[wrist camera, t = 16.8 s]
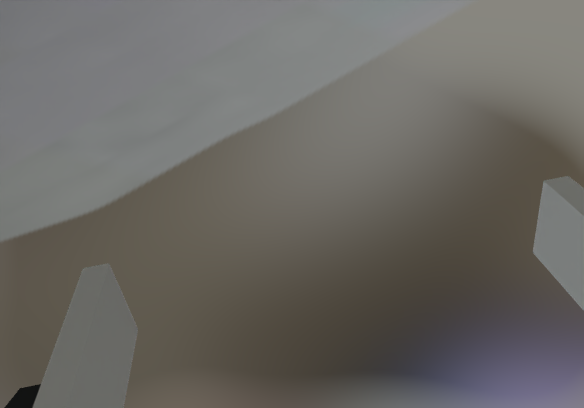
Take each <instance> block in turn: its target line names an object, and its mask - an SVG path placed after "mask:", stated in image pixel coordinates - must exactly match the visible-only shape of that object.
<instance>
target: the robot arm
mask: <svg viewBox="0 0 584 408" xmlns="http://www.w3.org/2000/svg"><path fill="white" fill-rule="evenodd" d="M533 253H534V254H535V255H536V256H537V258H538V259H539V260H540V261H541V262H542V263H543V265H544V266H545V267H546V268H547V269H548V270H549V271H550V273H551V274H552V275H553V276H554V277H555V278H556V279H557V281H558V282H559V283H560V284H561V285H562V286H563V287H564V288H565V290H566V291H567V292H568V293H569V294H570V295H571V297H572V298H573V299H574V300H575V301H576V302H577V303H578V304H579V306H580V307H581V308H582V309H583V310H584V188H583V187H581V186H580V185H579V184H578V183H576V182H575V181H574V180H572V179H571V178H570V177H569V176H566V177H561V178H556V179H551V180H545V181H544V182H543V189H542V195H541V202H540V209H539V215H538V222H537V229H536V235H535V242H534V249H533ZM137 332H138V328H137V326H136V324H135V321H134V319H133V317H132V315H131V312H130V310H129V308H128V305H127V303H126V301H125V299H124V296H123V294H122V292H121V289H120V287H119V285H118V283H117V281H116V278H115V276H114V273H113V271H112V269H111V267H110V264H104V265H98V266H93V267H87V268H83V270H82V272H81V276H80V278H79V281H78V284H77V287H76V289H75V292H74V295H73V297H72V300H71V303H70V306H69V308H68V311H67V314H66V317H65V320H64V322H63V325H62V328H61V331H60V333H59V336H58V339H57V342H56V345H55V347H54V350H53V353H52V356H51V358H50V361H49V364H48V367H47V369H46V372H45V375H44V378H43V381H42V383H41V384H40V385H35V386H30V387H25V388H20V389H19V390H18V392H17V393H16V394H15V395H14V397H13V398H12V399H11V400H10V402H9V403H8V404H7V405H6V407H5V408H123V407H124V402H125V397H126V391H127V386H128V380H129V375H130V370H131V364H132V359H133V353H134V347H135V343H136V337H137Z"/></svg>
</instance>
